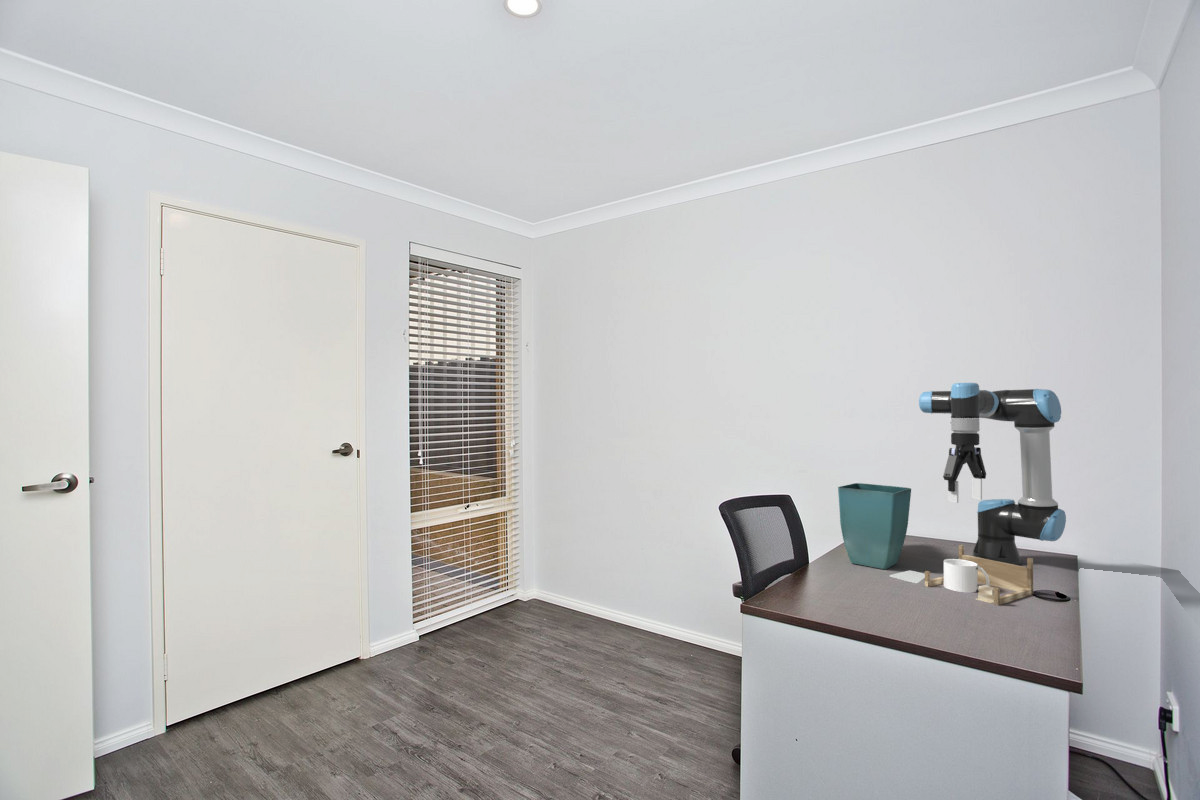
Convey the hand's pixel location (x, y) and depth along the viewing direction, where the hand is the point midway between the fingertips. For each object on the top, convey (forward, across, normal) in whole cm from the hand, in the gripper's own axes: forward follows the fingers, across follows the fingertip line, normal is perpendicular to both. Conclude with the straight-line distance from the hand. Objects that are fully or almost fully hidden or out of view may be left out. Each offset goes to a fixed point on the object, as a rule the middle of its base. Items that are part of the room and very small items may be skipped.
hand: (965, 500), depth 183 cm
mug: (+29, 0, 0) cm, 29 cm away
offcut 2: (+27, +5, +9) cm, 29 cm away
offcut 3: (+29, +5, +9) cm, 31 cm away
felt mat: (+29, -3, -17) cm, 33 cm away
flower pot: (+29, -8, -36) cm, 47 cm away
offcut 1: (+25, +5, +9) cm, 27 cm away
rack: (+29, -2, +3) cm, 29 cm away
